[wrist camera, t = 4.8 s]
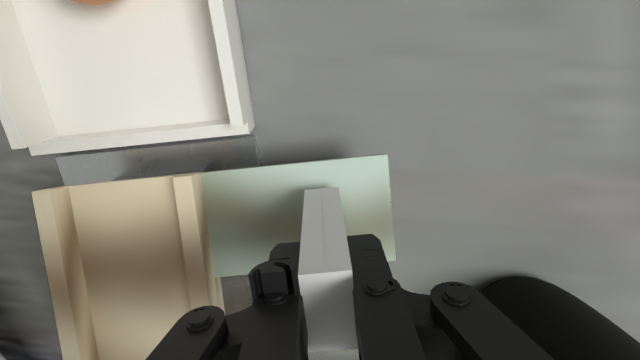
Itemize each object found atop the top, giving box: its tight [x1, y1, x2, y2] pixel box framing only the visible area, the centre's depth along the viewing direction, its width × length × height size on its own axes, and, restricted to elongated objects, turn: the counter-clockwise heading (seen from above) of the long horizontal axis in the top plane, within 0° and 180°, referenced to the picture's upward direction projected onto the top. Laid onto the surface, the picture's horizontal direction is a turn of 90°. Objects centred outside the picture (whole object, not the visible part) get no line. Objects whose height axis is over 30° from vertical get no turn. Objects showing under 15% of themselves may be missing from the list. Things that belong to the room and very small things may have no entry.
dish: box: [0, 0, 255, 156], centre depth 17 cm, size 11×11×4 cm
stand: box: [55, 135, 260, 360], centre depth 21 cm, size 21×11×8 cm, turn 6°
